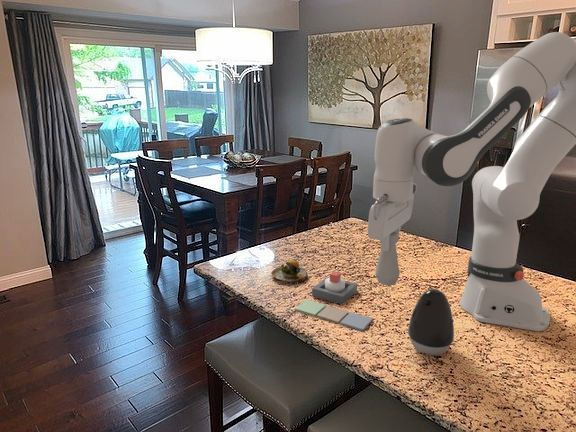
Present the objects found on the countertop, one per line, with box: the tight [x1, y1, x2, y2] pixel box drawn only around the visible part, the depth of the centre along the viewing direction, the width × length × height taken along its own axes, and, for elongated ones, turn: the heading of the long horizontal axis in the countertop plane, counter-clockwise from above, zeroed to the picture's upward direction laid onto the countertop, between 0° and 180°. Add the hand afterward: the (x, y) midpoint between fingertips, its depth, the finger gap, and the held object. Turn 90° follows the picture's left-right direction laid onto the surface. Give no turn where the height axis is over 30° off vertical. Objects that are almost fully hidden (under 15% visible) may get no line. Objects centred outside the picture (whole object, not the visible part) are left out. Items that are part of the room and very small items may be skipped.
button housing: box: [311, 276, 358, 305], centre depth 131 cm, size 10×10×2 cm
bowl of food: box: [271, 255, 309, 284], centre depth 142 cm, size 12×12×8 cm
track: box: [294, 298, 374, 332], centre depth 118 cm, size 20×6×1 cm, turn 57°
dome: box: [324, 270, 346, 293], centre depth 130 cm, size 6×6×6 cm
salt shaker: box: [375, 232, 401, 287], centre depth 105 cm, size 6×6×13 cm
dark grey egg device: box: [407, 288, 455, 356], centre depth 101 cm, size 10×10×15 cm
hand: (389, 246), depth 105 cm, fingers closed on salt shaker, 4 cm apart
